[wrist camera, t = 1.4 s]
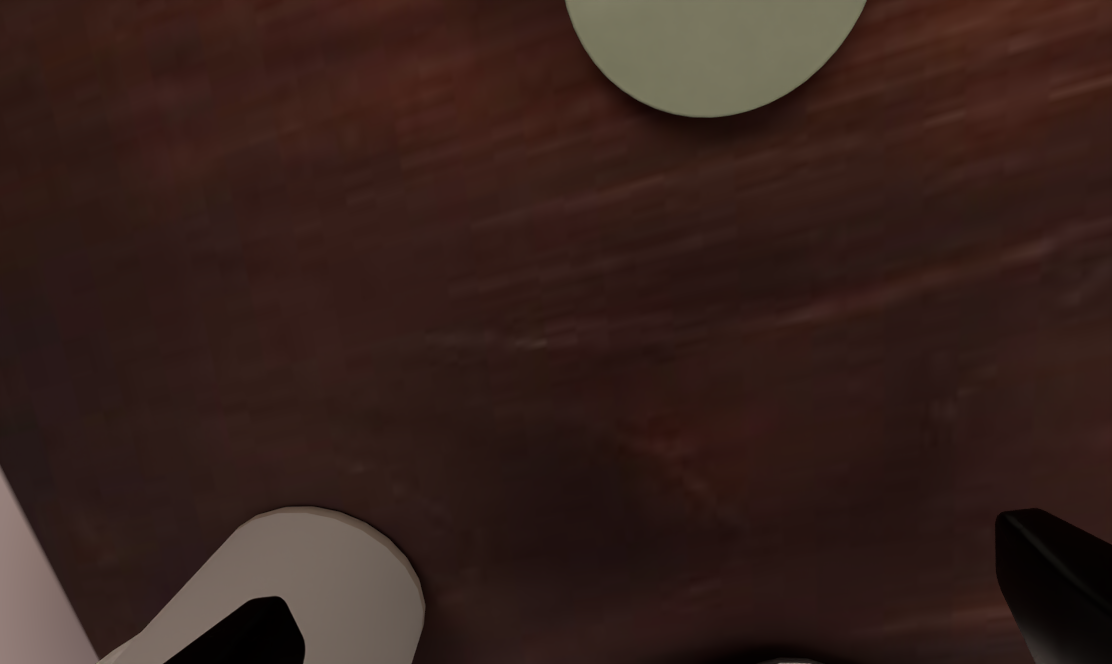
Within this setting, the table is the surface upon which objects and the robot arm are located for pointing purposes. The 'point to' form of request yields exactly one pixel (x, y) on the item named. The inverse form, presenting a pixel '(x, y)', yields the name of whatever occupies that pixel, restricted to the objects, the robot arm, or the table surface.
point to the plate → (790, 661)
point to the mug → (299, 590)
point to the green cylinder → (711, 48)
